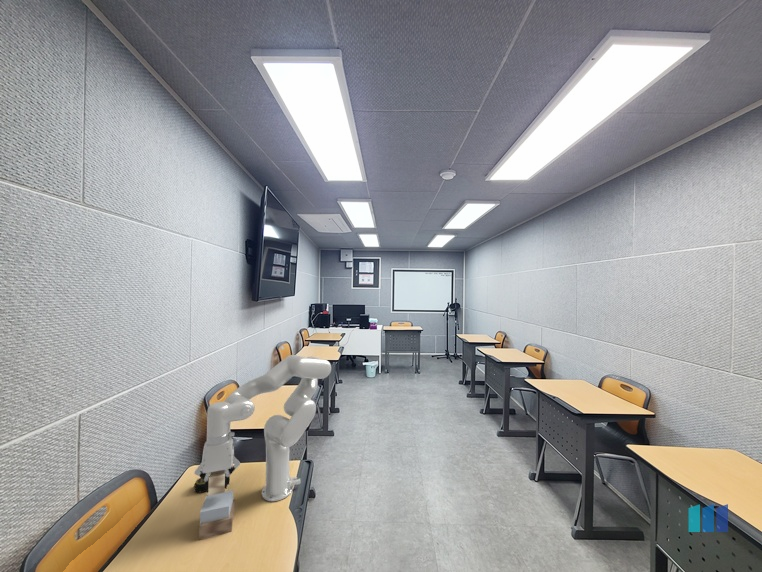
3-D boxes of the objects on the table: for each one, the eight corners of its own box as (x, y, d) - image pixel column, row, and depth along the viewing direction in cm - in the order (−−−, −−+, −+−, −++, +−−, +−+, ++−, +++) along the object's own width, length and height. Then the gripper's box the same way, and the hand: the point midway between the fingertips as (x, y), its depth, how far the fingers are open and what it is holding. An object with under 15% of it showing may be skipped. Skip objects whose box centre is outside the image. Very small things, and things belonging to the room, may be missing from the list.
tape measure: (210, 492, 124) (210, 483, 124) (191, 495, 121) (192, 486, 122) (214, 482, 130) (214, 473, 130) (196, 485, 128) (196, 476, 128)
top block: (233, 500, 112) (233, 490, 112) (228, 517, 103) (228, 506, 103) (206, 506, 109) (206, 495, 109) (199, 524, 100) (200, 512, 101)
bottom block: (234, 512, 112) (234, 499, 112) (231, 532, 103) (231, 518, 103) (205, 520, 109) (205, 506, 109) (199, 541, 99) (199, 526, 99)
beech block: (225, 484, 109) (226, 467, 109) (224, 492, 105) (224, 475, 105) (210, 487, 107) (211, 470, 108) (208, 495, 103) (208, 478, 103)
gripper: (244, 429, 113) (243, 477, 113) (194, 437, 107) (192, 487, 106) (243, 438, 106) (242, 489, 106) (188, 447, 100) (187, 501, 99)
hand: (217, 487), depth 106 cm, fingers closed on beech block, 5 cm apart
